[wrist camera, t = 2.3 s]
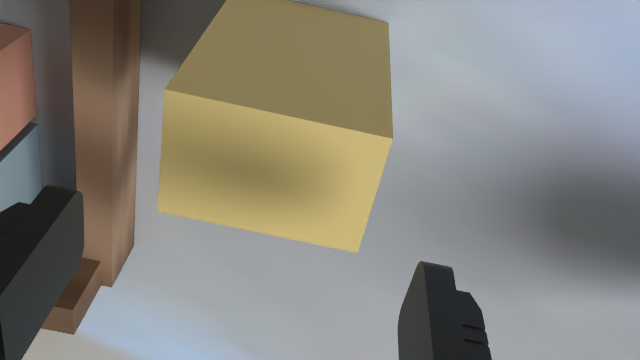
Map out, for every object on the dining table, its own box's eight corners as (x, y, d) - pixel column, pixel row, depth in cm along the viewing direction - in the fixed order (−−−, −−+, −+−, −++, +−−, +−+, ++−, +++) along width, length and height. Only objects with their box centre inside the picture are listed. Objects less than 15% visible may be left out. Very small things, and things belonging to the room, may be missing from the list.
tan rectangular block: (234, -12, 23) (164, 89, 15) (388, 22, 23) (393, 138, 16) (223, 82, 25) (157, 211, 18) (363, 113, 25) (357, 252, 18)
